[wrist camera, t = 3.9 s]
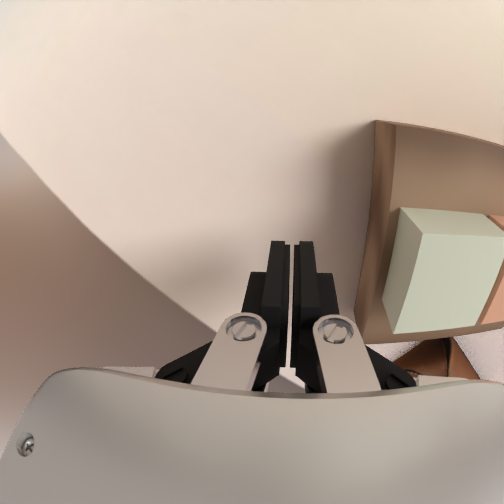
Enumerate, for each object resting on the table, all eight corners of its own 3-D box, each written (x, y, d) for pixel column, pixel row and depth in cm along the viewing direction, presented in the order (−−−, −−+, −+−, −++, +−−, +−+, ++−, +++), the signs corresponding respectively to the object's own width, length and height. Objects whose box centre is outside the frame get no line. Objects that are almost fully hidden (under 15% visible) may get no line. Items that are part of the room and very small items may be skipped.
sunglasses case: (362, 378, 21) (407, 417, 15) (408, 313, 21) (463, 336, 15) (432, 418, 25) (463, 442, 19) (463, 374, 26) (497, 393, 19)
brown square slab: (375, 119, 11) (396, 125, 9) (527, 154, 10) (556, 168, 7) (353, 311, 17) (360, 344, 15) (486, 303, 16) (501, 328, 13)
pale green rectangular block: (400, 207, 11) (422, 233, 8) (482, 213, 10) (510, 237, 8) (381, 299, 13) (393, 333, 11) (457, 295, 12) (474, 325, 10)
